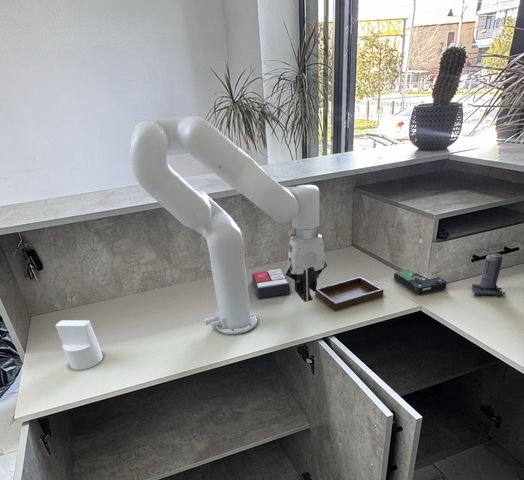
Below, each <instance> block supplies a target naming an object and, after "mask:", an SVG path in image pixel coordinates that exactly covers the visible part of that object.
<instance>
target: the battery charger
mask: <svg viewBox="0 0 524 480" xmlns="http://www.w3.org/2000/svg"><path fill="white" fill-rule="evenodd" d="M314 281H315V271H314V267H310V268H308V269H307V268H306V269H305V270H304V273H303V274H302V276H301V282H302V295H299V294H298V293H297V292H296V294H297V296H299V298H300V299H301V300H302V301H303V302H304V303H308V302H311V301H313V300H314V297H313V296H312V295H311V289H310V285H311V282H314Z"/></svg>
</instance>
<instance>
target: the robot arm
mask: <svg viewBox="0 0 524 480" xmlns="http://www.w3.org/2000/svg"><path fill="white" fill-rule="evenodd" d="M184 154H190V155H191V157H193V158H194V159H195V160H196V161H198V162H199V163H201V164H202V165H203V166H205V167H206V168H207V169H208V170H210V172H212V173H213V174H214V175H216V176H217V177H218V178H220V179H221V180H222V181H223V182H224V183H226V184H227V185H228V186H230V187H231V188H232V189H233V190H235V191H236V192H238V193H239V194H241V195H243V196H244V197H245V198H246V199H248V200H249V201H250V202H252V203H253V204H254V205H255V206H256V207H257V208H259V209H260V210H261V211H263V212H264V213H266V214H267V215H268V216H269V217H270V218H271V219H272V220H273V221H276V222H277V223H279V224H288V223H291V230H289V231H287V236H289V237H290V238H289V244H288V252H287V254H288V255H287V266H286V268H285V269H284V271H283V273H284V275H285V277H287V278H290V279H292V280H293V281H294V291H295V292H296V294H297V293H298V294H299V295H302V282H301V276H302V274H303V273H304V270H305V269H306V268H307V269H308V268H310V267H314V271H315V281H314V282H311V285H310V291H312V292H314V293H315V291H316V289H317V287H318V279H319V277H320V275H321V273H322V272H323V271H324V270H325V269H326V268H327V267H328V263H327V262H326V260H325V247H324V240H323V235H322V234H320V189H319V188H318V186H316V185H313V184H301V185H296V186H283V185H281V184H280V183H279V182H277V180H276V179H274V178H273V177H272V176H271V175H270V174H268V173H267V172H266V171H265V170H264V169H263V168H262V167H261V166H260V165H259V164H258V163H257V162H256V161H255V160H254V159H253V158H251V156H250V155H249V154H247V153H246V152H245V151H244V150H243V149H242V148H240V147H239V146H237V145H236V144H235V143H234V142H233V141H232V140H230V139H229V138H228V137H227V136H226V135H225V134H223V133H222V132H221V131H220V130H219V129H218V128H217V127H216V126H215V125H213V124H212V123H210V122H209V121H208V120H206V119H205V118H203V117H201V116H198V115H188V116H181V117H180V116H179V117H169V118H155V119H146V120H143V121H140V122H138V123H137V124H136V125H135V127H134V128H133V130H132V134H131V139H130V147H129V165H130V168H131V171H132V174H133V176H134V178H135V180H136V181H137V183H138V184H139V185H140V187H141V188H142V189H143V190H144V191H145V192H146V193H148V194H149V196H151V198H153V199H154V200H155V201H157V203H158V204H159V205H160V206H162V207H163V208H164V209H165V210H166V211H167V212H168V213H170V214H171V215H172V216H173V217H174V218H175V219H177V221H179V223H180V224H181V225H183V226H184V227H186V228H188V229H190V230H194V231H196V232H197V233H199V234H200V235H201V236H202V237H203V238H204V239H205V241H206V245H207V248H208V255H209V261H210V268H211V269H210V270H211V276H212V281H213V287H214V293H215V299H216V304H217V310H216V311H215V314H214V315H213V316H211V317H206V318H203V323H204V325H205V326H209V325H210V326H211V328H213V327H215V328H216V330H217V331H218V332H220V333H222V334H225V335H238V334H243V333H247V332H249V331H250V330H253V328H255V327H256V326H257V323H258V319H257V316H256V315H255V314H253V313H252V312H251V305H250V303H251V302H250V295H249V285H248V278H247V270H246V260H245V241H244V236H243V233H242V231H241V228H240V227H239V226H238V224H237V223H236V222H235V221H234V219H233V218H232V216H230V214H228V213H227V212H226V210H224V209H223V208H222V207H221V206H220V205H219V204H218V203H216V201H214V199H212V198H211V197H210V196H209V195H208V194H207V193H206V192H205V191H203V189H201V188H199V187H197V186H195V185H192V184H189V183H188V182H187V181H186V180H185V179H184V178H183V177H182V176H181V175H180V174H179V173H178V172H177V171H175V170H174V169H173V168H172V166H171V165H170V164H169V162H168V158H167V156H176V155H184ZM298 294H297V295H298ZM299 295H298V296H299Z"/></svg>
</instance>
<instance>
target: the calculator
mask: <svg viewBox="0 0 524 480" xmlns="http://www.w3.org/2000/svg"><path fill="white" fill-rule="evenodd" d="M287 278H288V277H287V276H286V275H284V271H283V270H282V269H281V268H277V269H276V268H275V269H271V270H270V269H269V270H264V271H263V270H262V271H256V272H253V273H251V279H252V284H253V287H254V290H255V292H256V296H257V298H258V299H264V298H271V297H277V296H278V297H279V296H285V295H290V294H291V286H290V285H291V284H290V282H289V280H288V279H287Z"/></svg>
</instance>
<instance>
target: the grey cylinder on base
mask: <svg viewBox="0 0 524 480" xmlns="http://www.w3.org/2000/svg"><path fill="white" fill-rule="evenodd" d="M502 264H503V256H502V254H500V253H497V252H491V253H488V254H487V256H486V257H485V261H484V265H483V269H482V273H481V278H480V282H479V284H477V283H472V284H471V289H472V293H473V295H474V296H476V297H477V296H483V295H486V296H489V297H490V296H491V297H492V296H496V297H501V296H502V295H503V296H504V295H506V291H504V292H503V291H502V290H503V288H502V287H498V285H497V282H498V279H499V274H500V271H501V266H502Z"/></svg>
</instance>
